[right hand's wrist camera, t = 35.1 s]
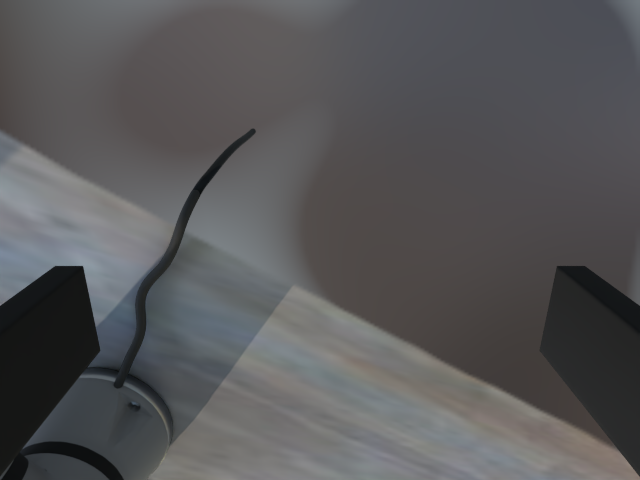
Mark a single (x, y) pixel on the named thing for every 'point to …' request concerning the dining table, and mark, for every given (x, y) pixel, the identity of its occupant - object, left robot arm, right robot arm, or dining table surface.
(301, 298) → the dining table surface
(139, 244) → the dining table surface
